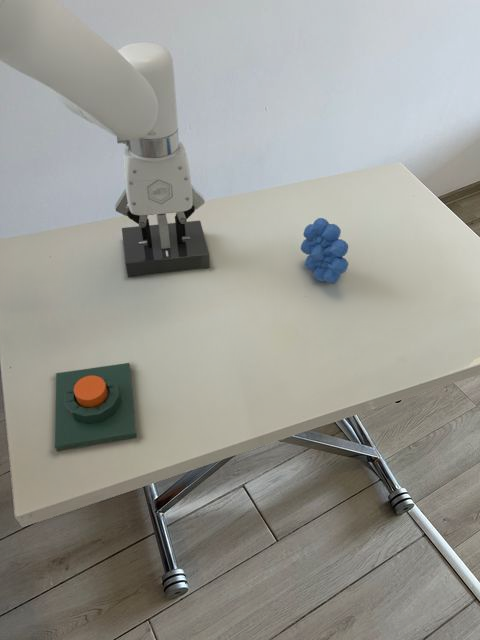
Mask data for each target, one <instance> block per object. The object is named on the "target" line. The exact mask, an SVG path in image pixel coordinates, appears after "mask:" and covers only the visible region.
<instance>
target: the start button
mask: <svg viewBox="0 0 480 640" xmlns="http://www.w3.org/2000/svg"><path fill="white" fill-rule="evenodd" d="M74 394H75V396H76V399H77V401H78V403H79V404H80V405H81V406H84V407H88V408H91V407H96V406H99V405H100V404H102V403H103V402H104V401H105V400H106V398H107V395H108V391H107V388H106V384H105V381H104V380H103V379H102V378H100V377H98V376H86V377H83V378H82V379H80V380H79V381H78V382H77V383H76V384H75V386H74Z"/></svg>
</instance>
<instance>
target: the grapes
mask: <svg viewBox="0 0 480 640" xmlns="http://www.w3.org/2000/svg"><path fill="white" fill-rule="evenodd" d="M341 232H342V230H341V228H340V227H339V226H338V225H337V224H336V223H330V222H329V221H328V220H327V219H326V218H323V217H318V218H316V219H315V220H314V221H313V223H311V224H308V225H306V226H305V228H304V229H303V237H304V238H305V239H304V240H302V243H301V245H300V250H301V252H302V253H303V254H304V255H307V257H306V258H305V261H304V267H305V268H306V269H308V270H310V271H314V272H313V278H314V279H315V280H316V281H318V282H322V283H323V282H327V283H329V284H336V283H338V281H339V280H340V278H341V275H342V274H344V273H346V271H347V270H348V268H349V261H348V259H347V258H345V256H346V255H347V253H348V251H349V244H348V243H347V241H346V240H343V239H340V237H341V234H342V233H341Z"/></svg>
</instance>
